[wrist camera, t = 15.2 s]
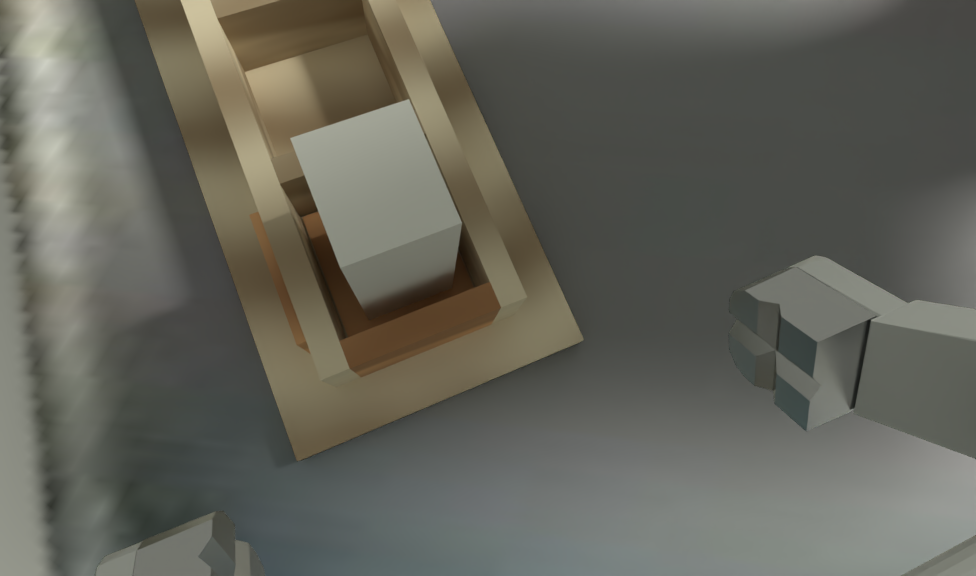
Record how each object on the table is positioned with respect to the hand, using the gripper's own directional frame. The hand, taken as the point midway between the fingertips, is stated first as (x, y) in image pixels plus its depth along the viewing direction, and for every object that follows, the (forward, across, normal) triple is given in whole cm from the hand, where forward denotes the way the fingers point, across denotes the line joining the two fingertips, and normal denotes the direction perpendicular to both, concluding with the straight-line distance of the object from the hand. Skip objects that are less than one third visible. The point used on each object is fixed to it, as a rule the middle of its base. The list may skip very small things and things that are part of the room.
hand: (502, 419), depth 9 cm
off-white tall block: (+15, 0, +5) cm, 16 cm away
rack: (+21, 0, +1) cm, 21 cm away
